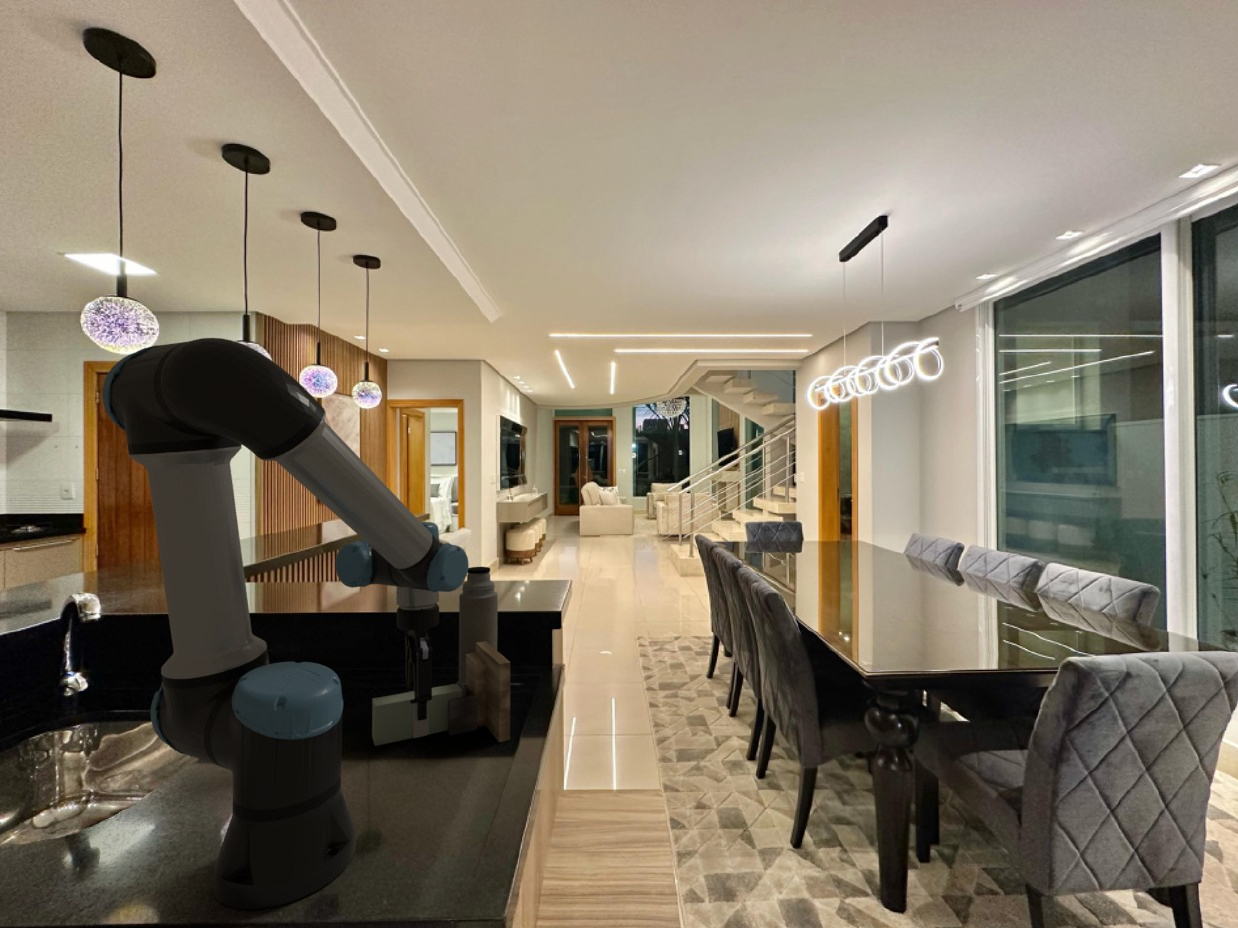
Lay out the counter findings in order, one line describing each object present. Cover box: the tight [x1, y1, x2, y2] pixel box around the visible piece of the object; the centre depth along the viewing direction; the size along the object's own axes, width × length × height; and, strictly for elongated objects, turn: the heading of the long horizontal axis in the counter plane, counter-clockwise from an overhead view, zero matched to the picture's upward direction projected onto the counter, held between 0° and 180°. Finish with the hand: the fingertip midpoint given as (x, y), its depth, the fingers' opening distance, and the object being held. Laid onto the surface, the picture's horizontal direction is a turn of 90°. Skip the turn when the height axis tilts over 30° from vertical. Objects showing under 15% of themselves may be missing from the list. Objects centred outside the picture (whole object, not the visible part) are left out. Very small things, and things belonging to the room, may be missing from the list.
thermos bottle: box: [458, 566, 499, 684], centre depth 124 cm, size 8×8×28 cm
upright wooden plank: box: [447, 641, 511, 743], centre depth 110 cm, size 9×16×14 cm, turn 30°
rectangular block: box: [371, 680, 466, 747], centre depth 108 cm, size 16×4×7 cm, turn 120°
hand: (418, 729), depth 108 cm, fingers open, 4 cm apart
